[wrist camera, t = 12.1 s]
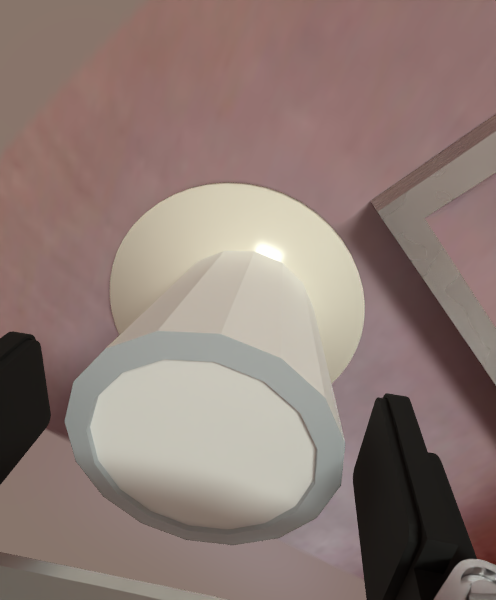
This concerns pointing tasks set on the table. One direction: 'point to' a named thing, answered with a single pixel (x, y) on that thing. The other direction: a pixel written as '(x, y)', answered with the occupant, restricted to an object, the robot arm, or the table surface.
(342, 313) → the cream flat disc
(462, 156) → the holder collar
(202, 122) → the table surface
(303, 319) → the white cup
